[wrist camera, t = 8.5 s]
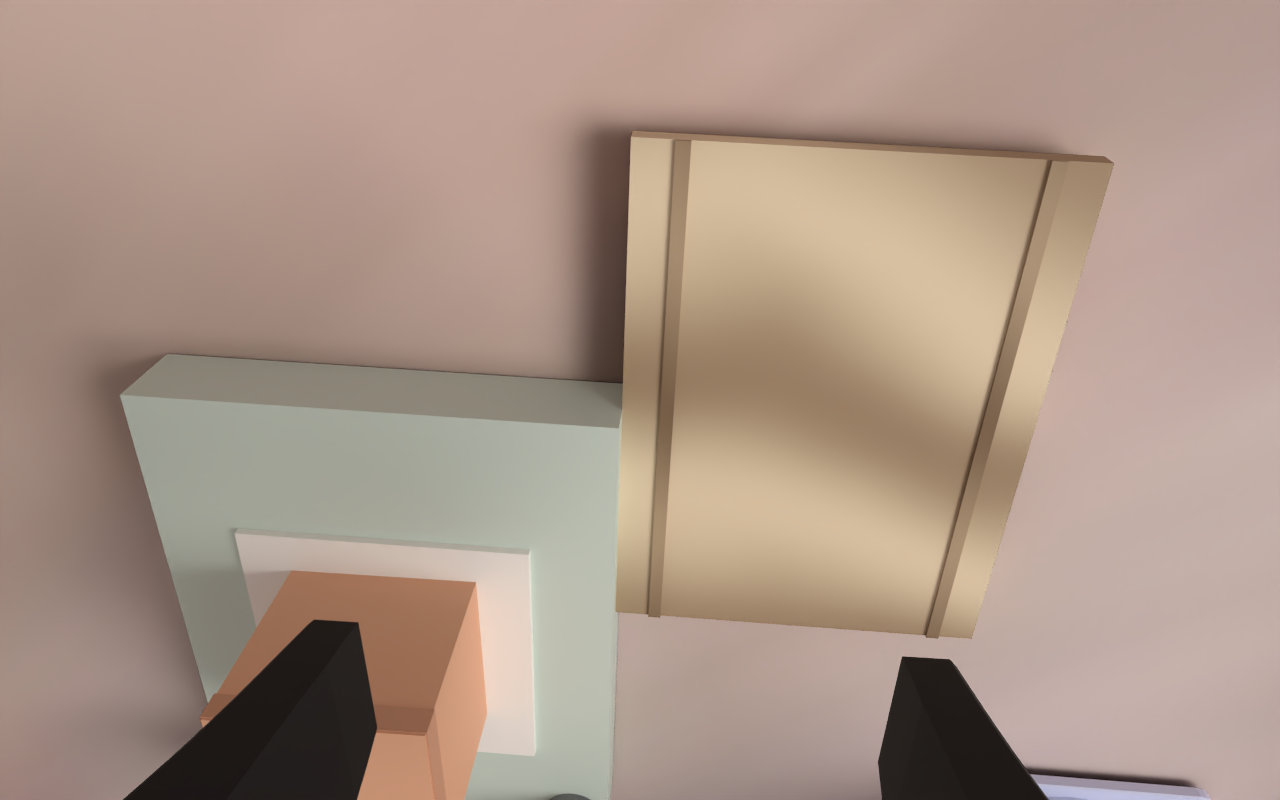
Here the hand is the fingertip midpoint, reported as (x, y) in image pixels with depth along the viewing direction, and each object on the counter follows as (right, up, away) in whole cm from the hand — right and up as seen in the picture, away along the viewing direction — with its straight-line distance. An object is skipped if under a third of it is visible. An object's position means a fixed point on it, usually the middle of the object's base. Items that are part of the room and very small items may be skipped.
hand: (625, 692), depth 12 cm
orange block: (-6, -2, +11) cm, 12 cm away
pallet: (+4, +4, +9) cm, 11 cm away
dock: (-6, -1, +13) cm, 14 cm away
